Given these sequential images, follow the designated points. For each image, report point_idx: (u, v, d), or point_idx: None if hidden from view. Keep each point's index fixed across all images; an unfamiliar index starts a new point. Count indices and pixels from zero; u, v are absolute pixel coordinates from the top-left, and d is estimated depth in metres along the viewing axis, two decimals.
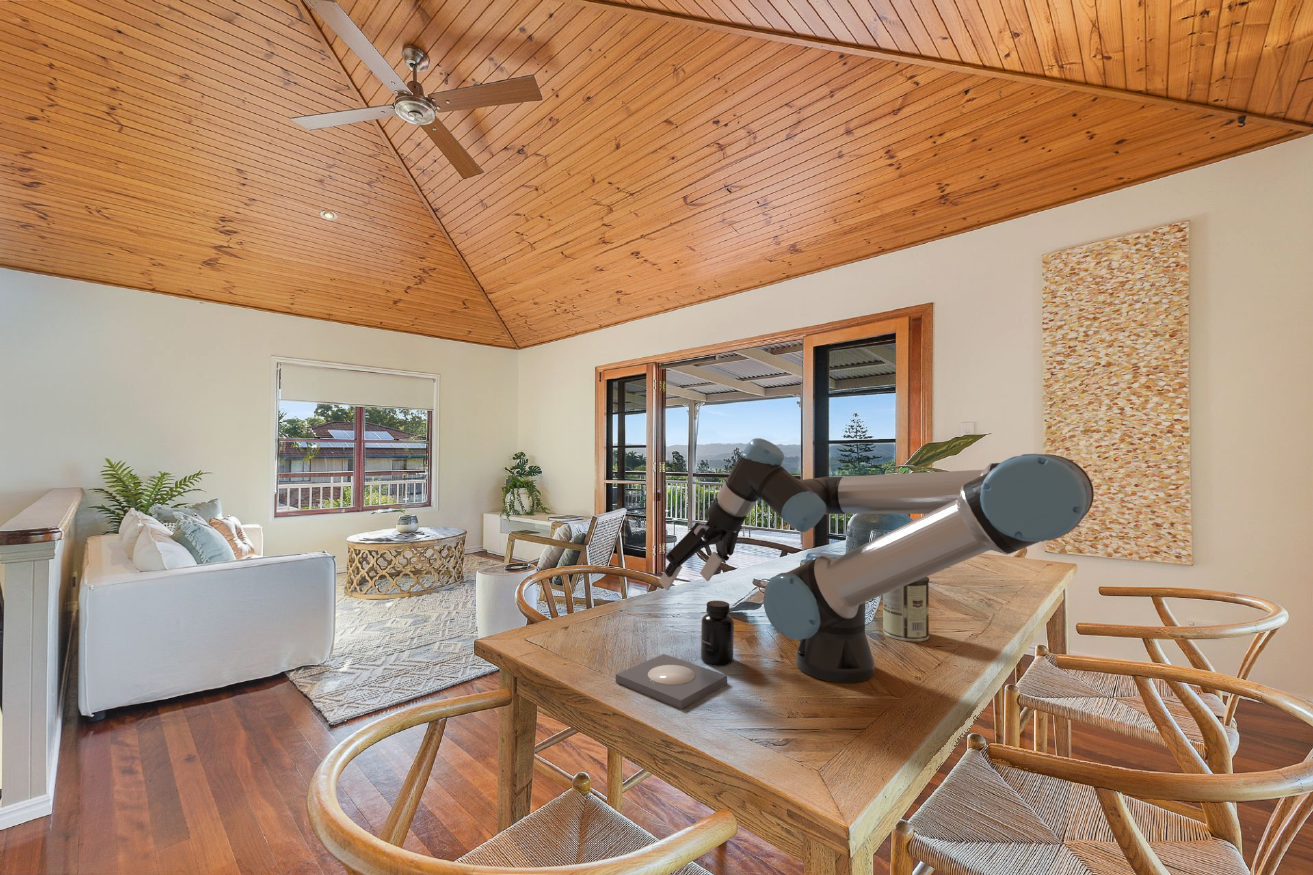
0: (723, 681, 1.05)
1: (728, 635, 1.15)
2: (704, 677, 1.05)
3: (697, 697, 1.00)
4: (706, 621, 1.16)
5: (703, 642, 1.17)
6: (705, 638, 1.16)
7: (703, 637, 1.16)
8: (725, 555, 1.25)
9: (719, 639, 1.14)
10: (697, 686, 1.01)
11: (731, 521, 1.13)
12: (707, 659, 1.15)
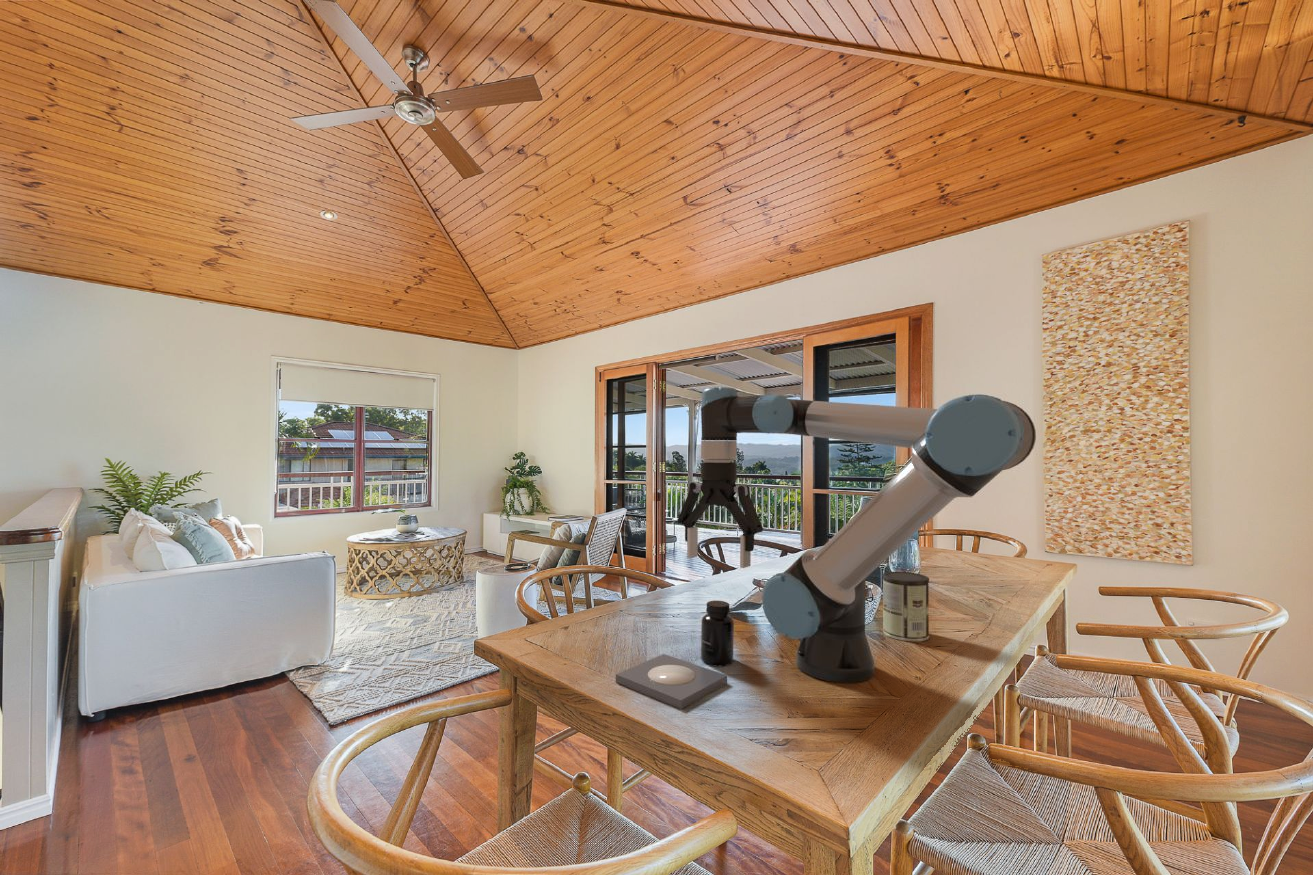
0: (723, 681, 1.05)
1: (728, 635, 1.15)
2: (704, 677, 1.05)
3: (697, 697, 1.00)
4: (706, 621, 1.16)
5: (703, 642, 1.17)
6: (705, 638, 1.16)
7: (703, 637, 1.16)
8: (745, 530, 1.12)
9: (719, 639, 1.14)
10: (697, 686, 1.01)
11: (701, 467, 1.17)
12: (707, 659, 1.15)
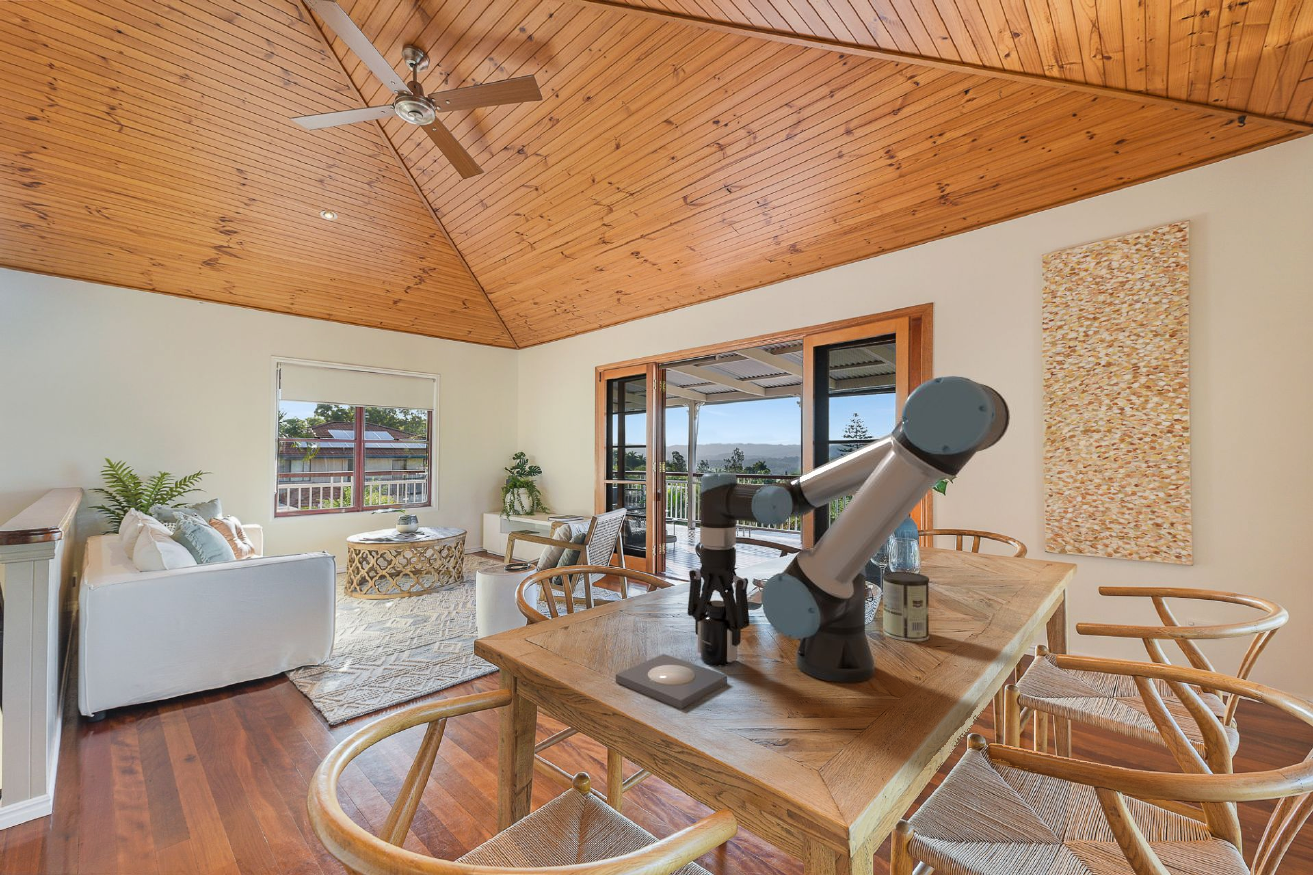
0: (723, 681, 1.05)
1: None
2: (704, 677, 1.05)
3: (697, 697, 1.00)
4: (706, 621, 1.16)
5: (702, 642, 1.17)
6: (705, 638, 1.16)
7: (703, 637, 1.16)
8: (732, 624, 1.14)
9: (719, 639, 1.14)
10: (697, 686, 1.01)
11: (700, 552, 1.17)
12: (707, 659, 1.15)
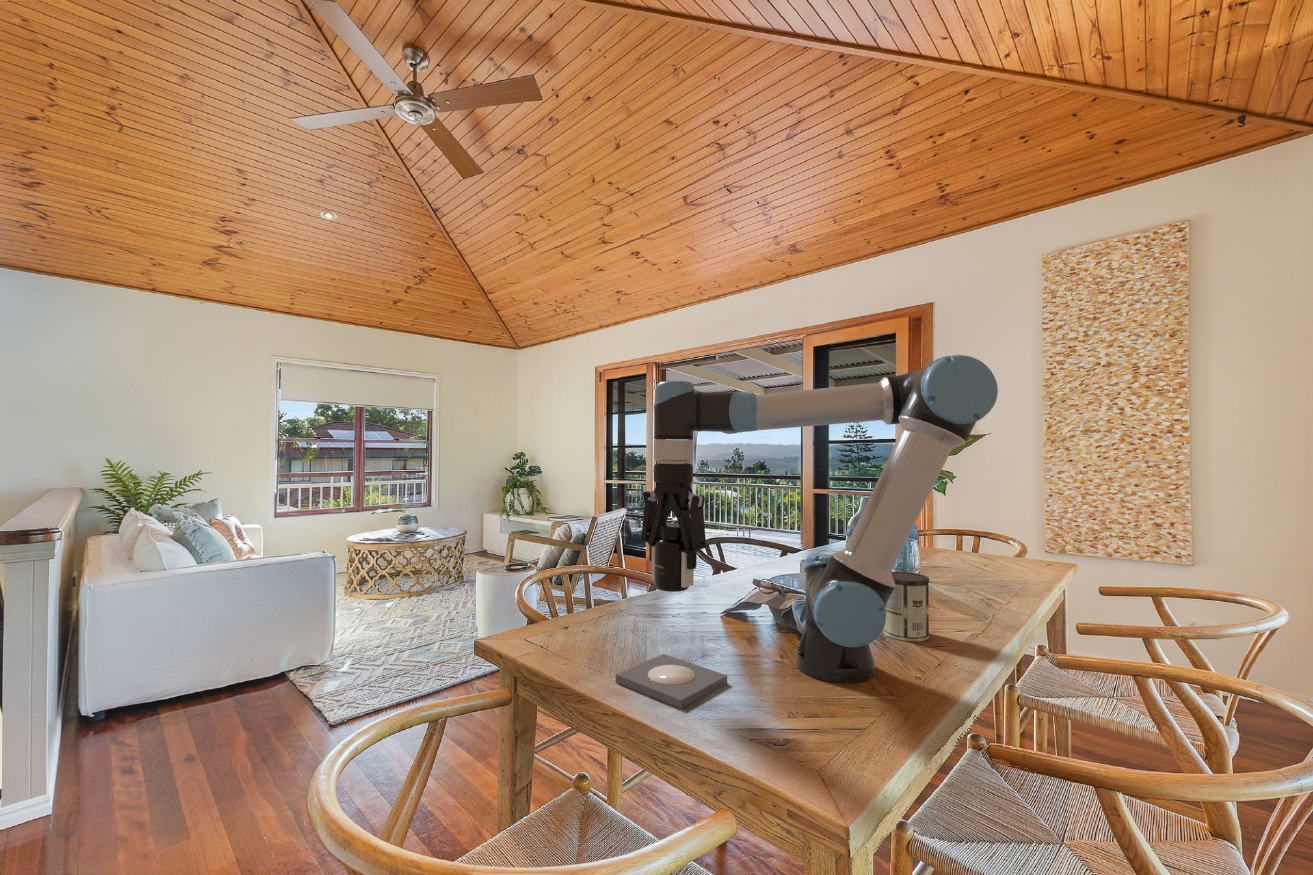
0: (723, 681, 1.05)
1: None
2: (704, 677, 1.05)
3: (697, 697, 1.00)
4: (659, 544, 1.05)
5: (655, 567, 1.06)
6: (658, 562, 1.05)
7: (656, 561, 1.06)
8: (687, 546, 1.03)
9: (673, 562, 1.04)
10: (697, 686, 1.01)
11: (654, 468, 1.06)
12: (660, 585, 1.05)
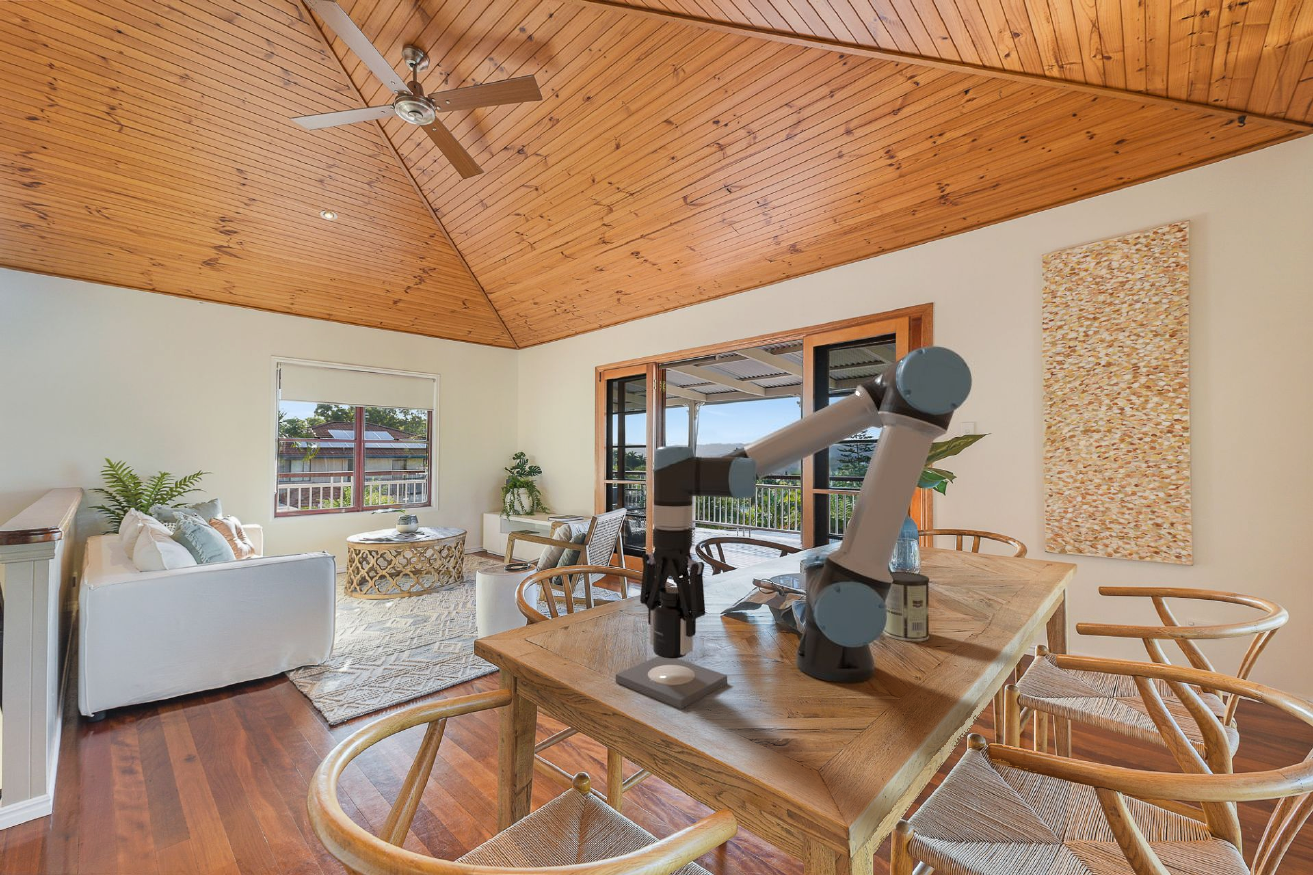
0: (723, 681, 1.05)
1: None
2: (704, 677, 1.05)
3: (697, 697, 1.00)
4: (658, 610, 1.05)
5: (654, 633, 1.05)
6: (657, 628, 1.05)
7: (655, 627, 1.05)
8: (686, 613, 1.03)
9: (672, 629, 1.03)
10: (697, 686, 1.01)
11: (653, 533, 1.06)
12: (659, 651, 1.04)
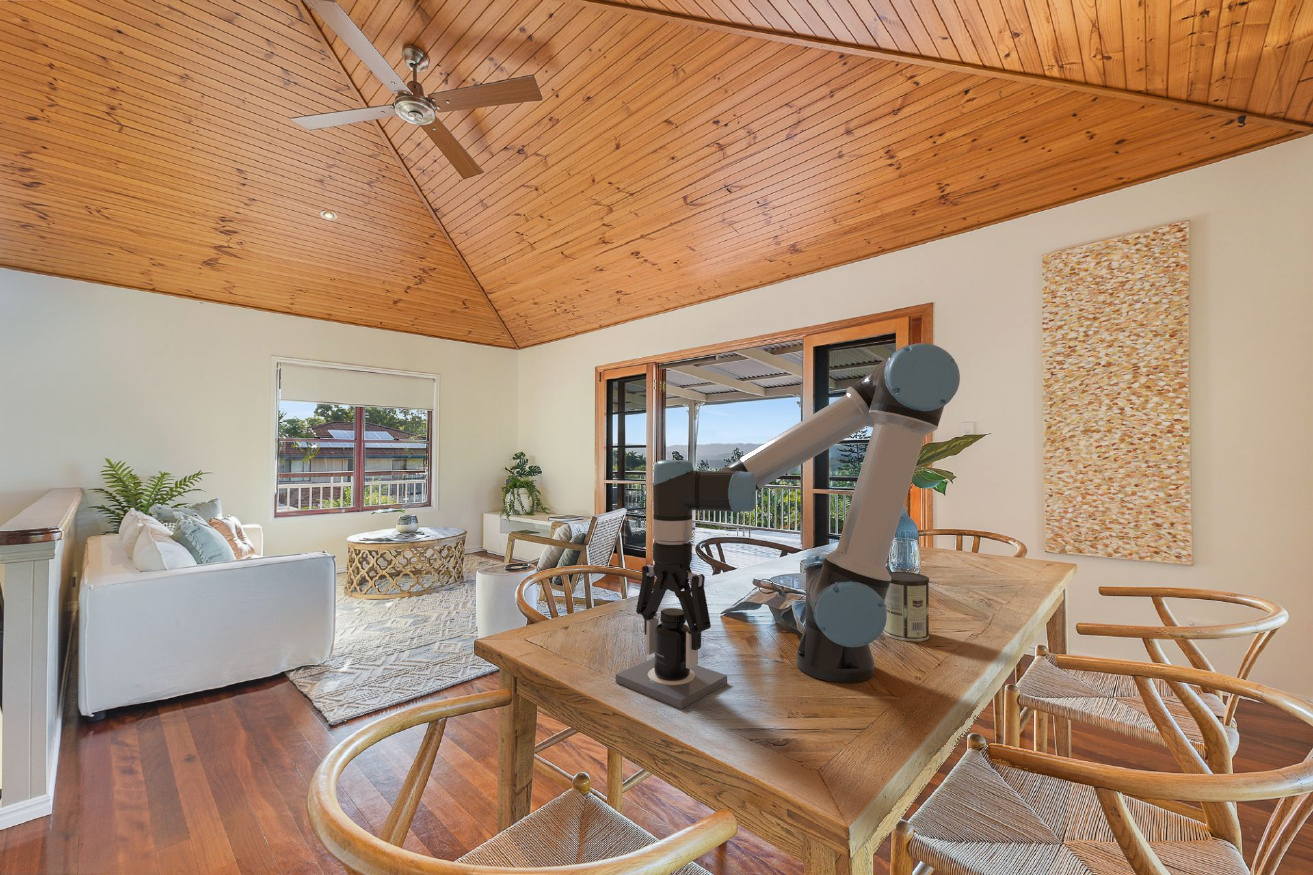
0: (723, 681, 1.05)
1: (683, 647, 1.04)
2: (704, 677, 1.05)
3: (697, 697, 1.00)
4: (659, 632, 1.05)
5: (656, 654, 1.05)
6: (658, 650, 1.05)
7: (656, 649, 1.05)
8: (691, 626, 1.02)
9: (673, 651, 1.03)
10: (697, 686, 1.01)
11: (653, 548, 1.06)
12: (660, 673, 1.04)
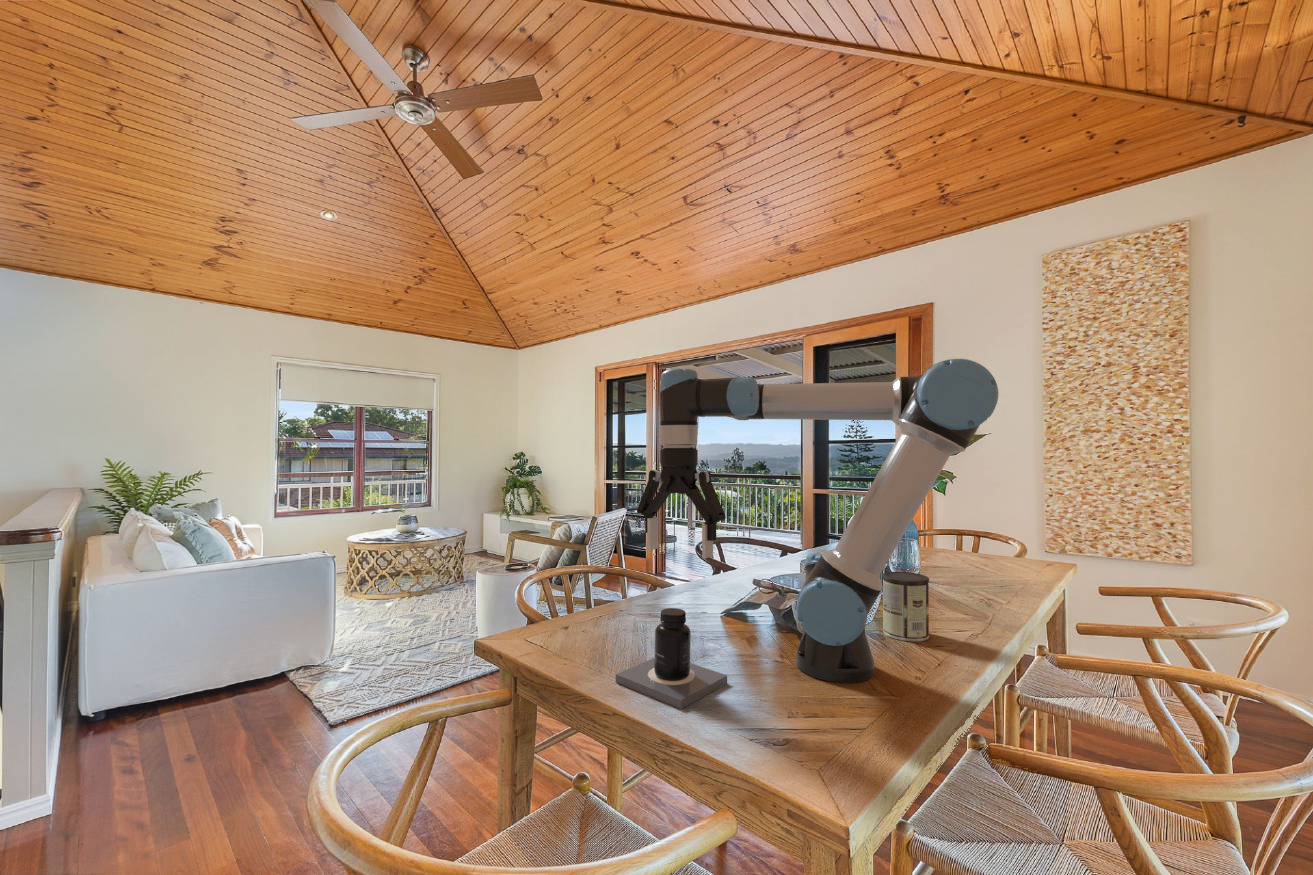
0: (723, 681, 1.05)
1: (683, 647, 1.04)
2: (704, 677, 1.05)
3: (697, 697, 1.00)
4: (659, 632, 1.05)
5: (656, 654, 1.05)
6: (658, 650, 1.05)
7: (656, 649, 1.05)
8: (706, 518, 1.06)
9: (673, 651, 1.03)
10: (697, 686, 1.01)
11: (660, 453, 1.11)
12: (660, 673, 1.04)
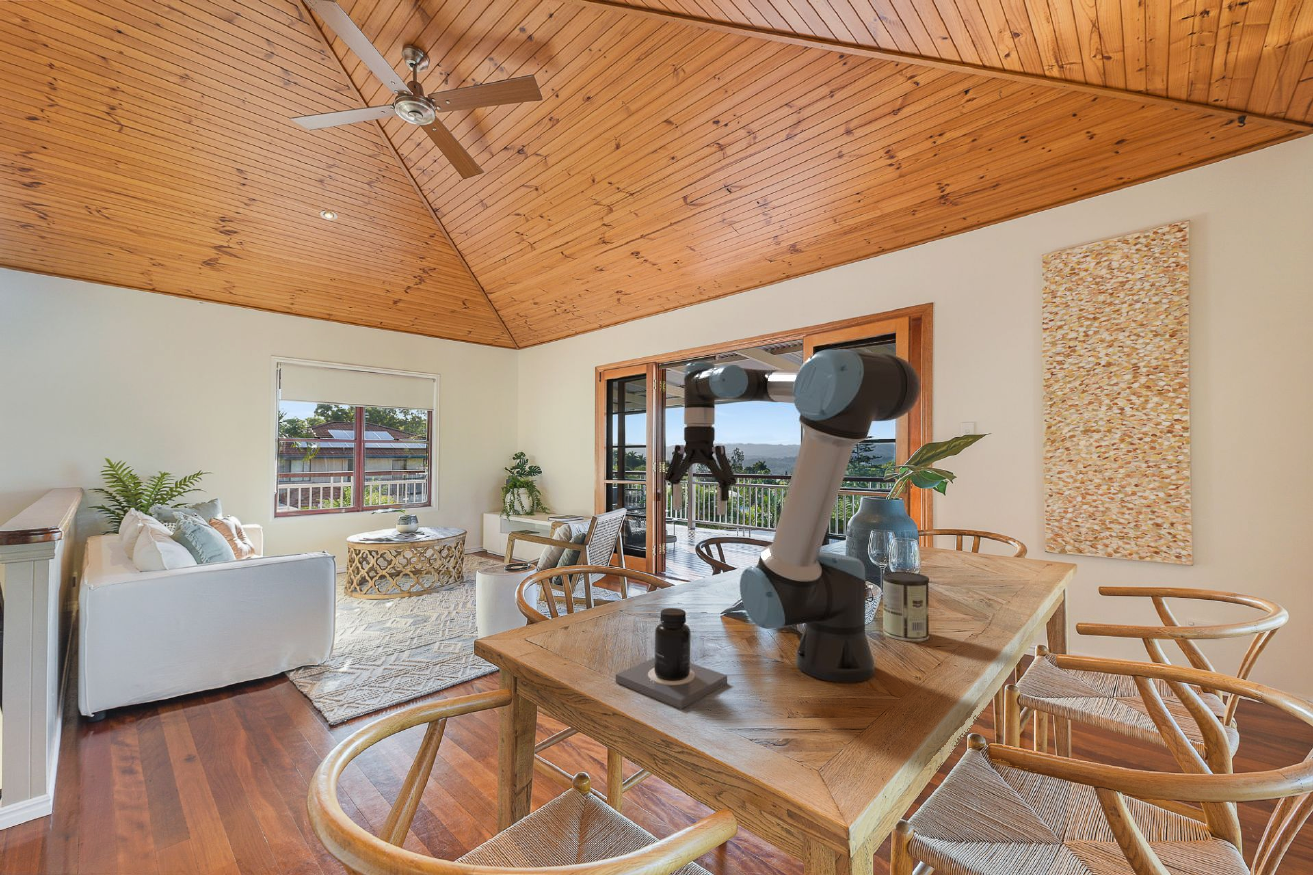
0: (723, 681, 1.05)
1: (683, 647, 1.04)
2: (704, 677, 1.05)
3: (697, 697, 1.00)
4: (659, 632, 1.05)
5: (656, 654, 1.05)
6: (658, 650, 1.05)
7: (656, 649, 1.05)
8: (721, 482, 1.32)
9: (673, 651, 1.03)
10: (697, 686, 1.01)
11: (684, 430, 1.37)
12: (660, 673, 1.04)
